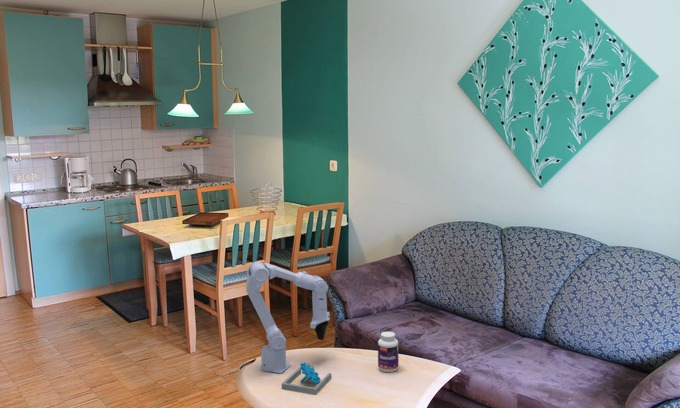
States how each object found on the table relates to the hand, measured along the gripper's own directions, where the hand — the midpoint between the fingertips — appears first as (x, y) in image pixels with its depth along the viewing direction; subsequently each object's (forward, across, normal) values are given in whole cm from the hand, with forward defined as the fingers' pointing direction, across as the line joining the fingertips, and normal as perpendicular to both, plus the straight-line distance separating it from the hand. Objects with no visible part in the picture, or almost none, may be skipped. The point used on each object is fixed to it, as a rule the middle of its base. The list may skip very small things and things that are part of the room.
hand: (320, 339), depth 242 cm
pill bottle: (+10, +2, -28) cm, 30 cm away
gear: (+10, -18, -4) cm, 21 cm away
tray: (+9, -19, -3) cm, 21 cm away
